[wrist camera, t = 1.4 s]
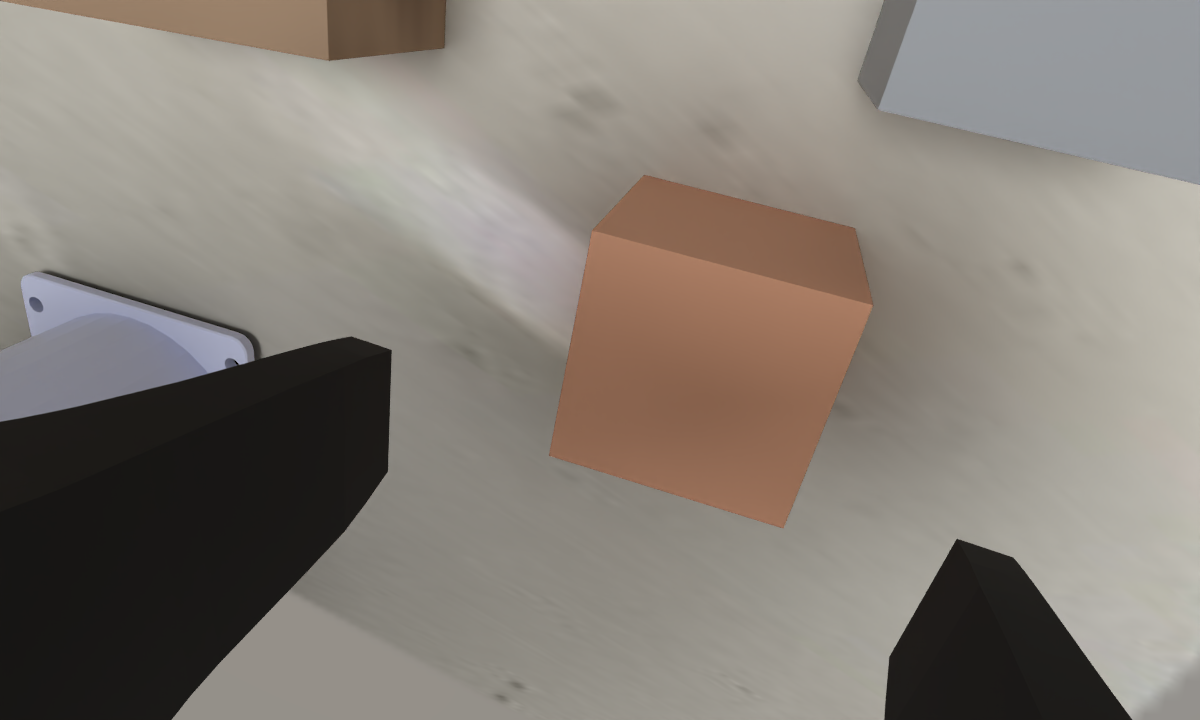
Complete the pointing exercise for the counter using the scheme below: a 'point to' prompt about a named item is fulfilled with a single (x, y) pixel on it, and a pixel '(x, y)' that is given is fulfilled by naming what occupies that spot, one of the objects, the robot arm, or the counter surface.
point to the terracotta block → (710, 346)
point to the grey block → (1049, 75)
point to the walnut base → (282, 22)
